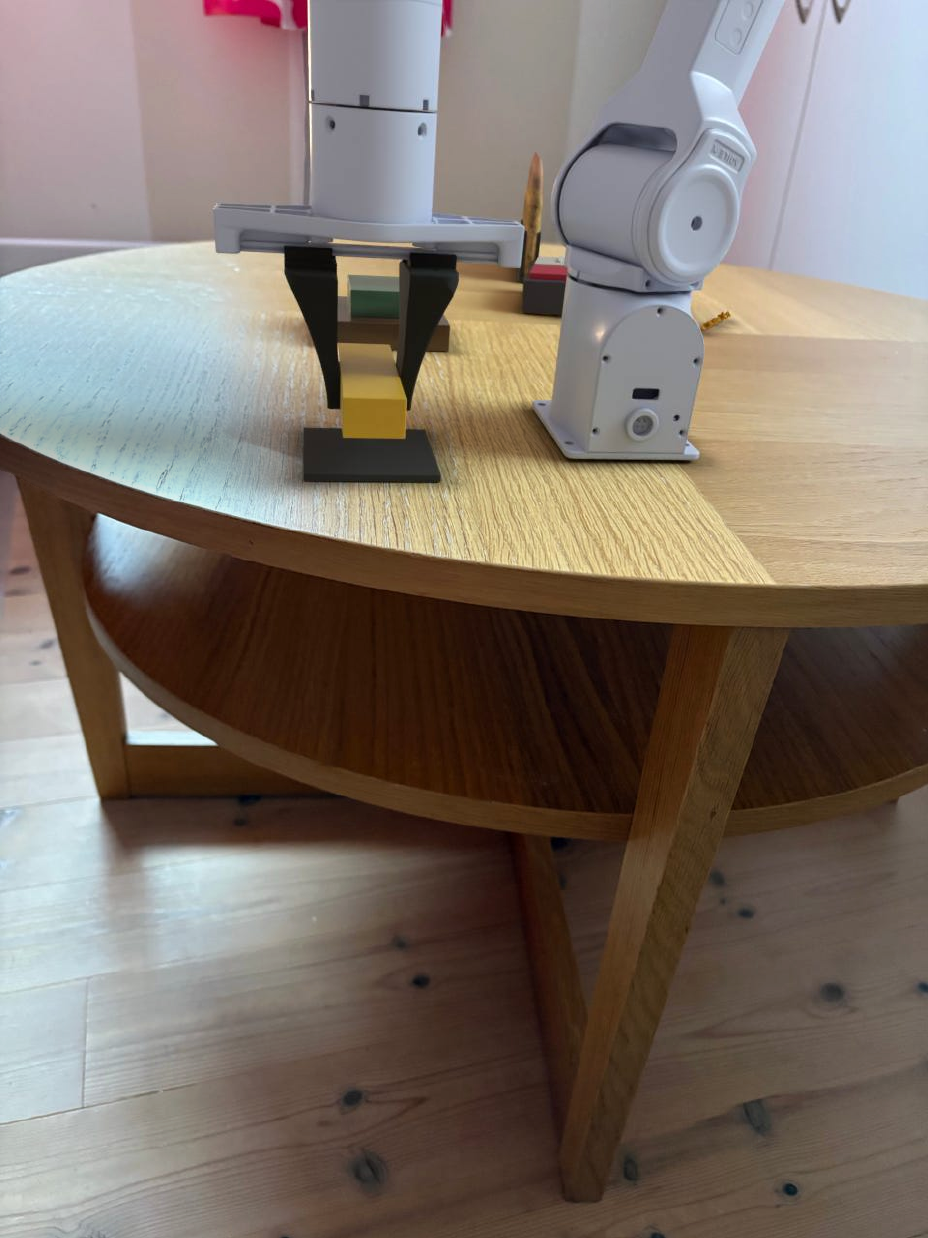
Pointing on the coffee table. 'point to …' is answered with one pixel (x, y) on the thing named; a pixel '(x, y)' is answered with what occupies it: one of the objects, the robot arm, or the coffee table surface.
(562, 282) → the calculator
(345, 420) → the bar
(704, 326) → the keychain
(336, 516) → the coffee table surface
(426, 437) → the mat
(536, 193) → the ammunition clip
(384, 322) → the stepped green brown block
